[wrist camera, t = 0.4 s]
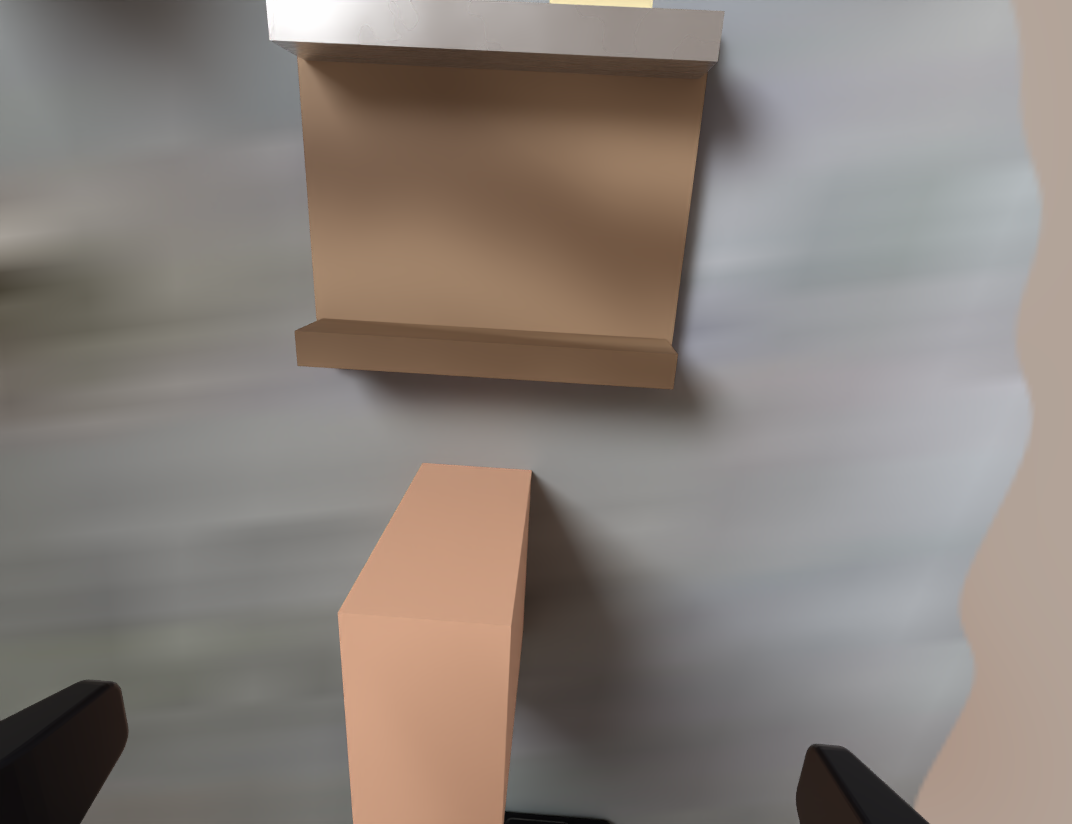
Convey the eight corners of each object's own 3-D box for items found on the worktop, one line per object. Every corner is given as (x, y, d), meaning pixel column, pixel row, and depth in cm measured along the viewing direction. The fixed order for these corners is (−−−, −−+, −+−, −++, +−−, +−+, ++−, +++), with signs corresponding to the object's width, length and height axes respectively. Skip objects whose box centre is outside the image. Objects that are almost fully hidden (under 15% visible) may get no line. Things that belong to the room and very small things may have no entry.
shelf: (663, 377, 19) (678, 403, 16) (327, 357, 19) (291, 379, 17) (709, 25, 16) (736, -9, 13) (303, 6, 16) (254, -31, 13)
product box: (522, 635, 22) (500, 850, 15) (419, 627, 23) (346, 836, 15) (531, 470, 20) (511, 625, 13) (416, 462, 20) (328, 611, 13)
